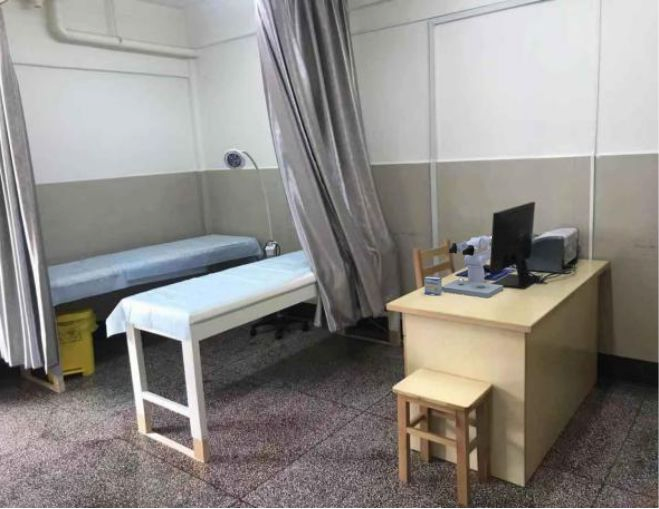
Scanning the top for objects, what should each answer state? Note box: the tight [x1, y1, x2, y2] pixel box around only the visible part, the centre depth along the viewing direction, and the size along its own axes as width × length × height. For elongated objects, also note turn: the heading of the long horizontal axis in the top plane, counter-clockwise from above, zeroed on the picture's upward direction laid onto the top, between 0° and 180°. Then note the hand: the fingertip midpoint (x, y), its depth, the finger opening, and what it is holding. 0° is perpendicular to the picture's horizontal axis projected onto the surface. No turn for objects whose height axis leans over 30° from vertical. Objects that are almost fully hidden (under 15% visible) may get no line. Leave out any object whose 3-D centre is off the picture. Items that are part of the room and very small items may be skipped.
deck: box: [442, 279, 504, 299], centre depth 283 cm, size 26×18×2 cm
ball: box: [457, 277, 466, 285], centre depth 287 cm, size 4×4×4 cm
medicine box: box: [424, 276, 443, 296], centre depth 281 cm, size 8×4×9 cm, turn 62°
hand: (456, 252), depth 281 cm, fingers open, 7 cm apart
